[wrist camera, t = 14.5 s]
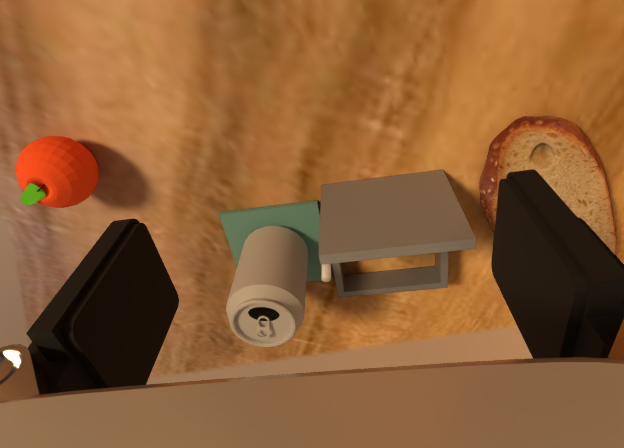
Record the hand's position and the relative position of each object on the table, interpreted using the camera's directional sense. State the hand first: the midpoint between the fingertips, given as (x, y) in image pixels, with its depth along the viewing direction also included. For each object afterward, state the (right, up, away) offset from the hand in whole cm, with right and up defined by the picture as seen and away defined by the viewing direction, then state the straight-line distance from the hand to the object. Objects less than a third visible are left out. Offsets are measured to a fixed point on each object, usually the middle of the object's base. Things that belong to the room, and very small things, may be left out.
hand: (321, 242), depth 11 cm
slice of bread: (+26, +3, +34) cm, 43 cm away
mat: (-4, -2, +38) cm, 39 cm away
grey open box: (+8, -1, +37) cm, 38 cm away
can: (-4, -2, +38) cm, 38 cm away
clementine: (-25, +7, +33) cm, 42 cm away
